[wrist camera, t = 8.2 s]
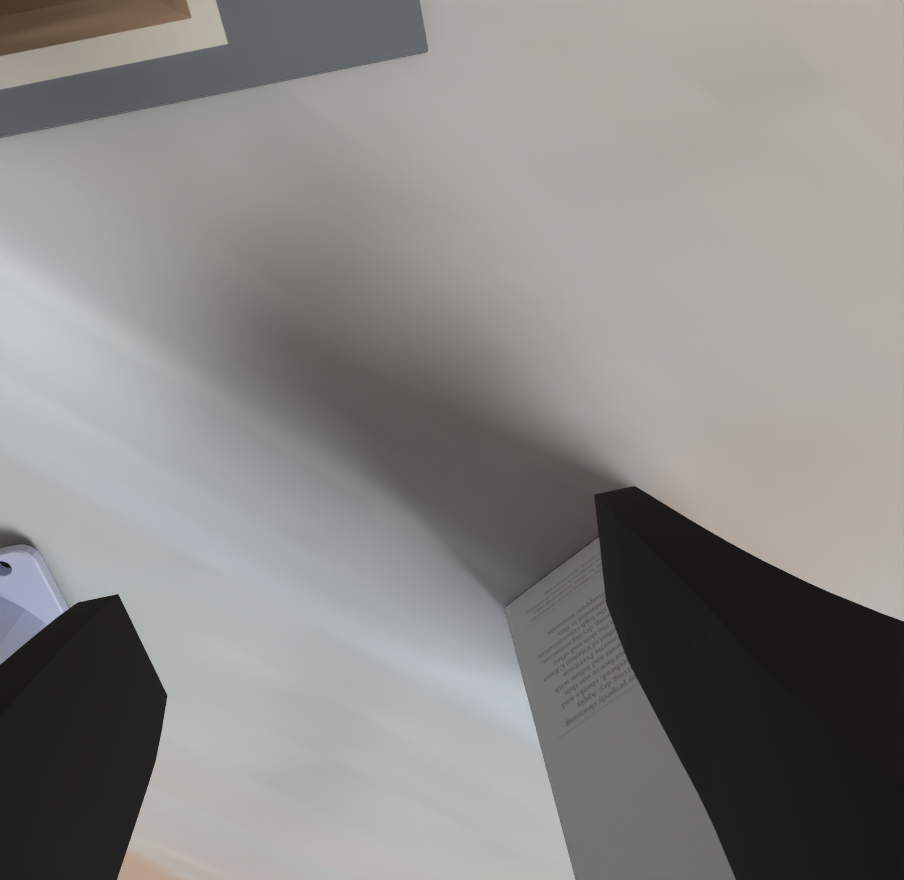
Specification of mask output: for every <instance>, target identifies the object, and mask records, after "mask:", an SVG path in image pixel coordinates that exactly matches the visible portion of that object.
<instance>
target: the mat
mask: <svg viewBox="0 0 904 880" xmlns="http://www.w3.org/2000/svg"><path fill="white" fill-rule="evenodd" d="M187 4H188V7H189V10H190V14H191V17H192V18H190V19H185V20H180V21H175V22H170V23H165V24H160V25H155V26H150V27H145V28H140V29H135V30H130V31H125V32H120V33H115V34H110V35H104V36H99V37H94V38H89V39H84V40H79V41H74V42H69V43H64V44H59V45H54V46H49V47H44V48H39V49H34V50H29V51H24V52H19V53H14V54H9V55H4V56H0V138H2V137H7V136H12V135H17V134H22V133H27V132H32V131H37V130H42V129H47V128H52V127H57V126H62V125H67V124H72V123H77V122H82V121H87V120H92V119H97V118H102V117H107V116H112V115H117V114H122V113H127V112H132V111H137V110H142V109H147V108H152V107H157V106H162V105H167V104H172V103H177V102H182V101H187V100H192V99H197V98H202V97H207V96H212V95H217V94H222V93H227V92H232V91H237V90H242V89H246V88H251V87H256V86H261V85H266V84H271V83H276V82H281V81H286V80H291V79H296V78H301V77H306V76H311V75H316V74H321V73H326V72H331V71H336V70H341V69H346V68H351V67H356V66H361V65H366V64H371V63H376V62H381V61H386V60H391V59H396V58H401V57H406V56H411V55H416V54H421V53H426V52H427V51H428V47H427V41H426V36H425V30H424V24H423V18H422V12H421V6H420V1H419V0H187Z"/></svg>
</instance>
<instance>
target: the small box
mask: <svg viewBox="0 0 904 880" xmlns="http://www.w3.org/2000/svg"><path fill="white" fill-rule="evenodd" d="M505 615H506V618H507V622H508V625H509V629H510V632H511V636H512V640H513V644H514V647H515V651H516V655H517V659H518V662H519V666H520V670H521V674H522V678H523V681H524V685H525V689H526V693H527V697H528V700H529V704H530V708H531V712H532V716H533V719H534V723H535V727H536V731H537V735H538V739H539V742H540V746H541V750H542V754H543V758H544V762H545V765H546V769H547V773H548V777H549V781H550V785H551V788H552V792H553V796H554V800H555V804H556V807H557V811H558V815H559V819H560V823H561V826H562V830H563V834H564V838H565V842H566V845H567V849H568V853H569V857H570V861H571V864H572V868H573V872H574V875H575V879H576V880H736V879H735V877H734V874H733V872H732V869H731V867H730V865H729V862H728V860H727V857H726V855H725V853H724V850H723V848H722V845H721V843H720V841H719V838H718V836H717V833H716V831H715V829H714V826H713V824H712V822H711V820H710V818H709V816H708V814H707V812H706V810H705V807H704V805H703V803H702V801H701V799H700V797H699V795H698V793H697V791H696V789H695V787H694V785H693V784H692V782H691V780H690V778H689V776H688V774H687V772H686V770H685V768H684V767H683V765H682V763H681V761H680V759H679V757H678V755H677V753H676V752H675V750H674V748H673V746H672V744H671V742H670V740H669V738H668V736H667V735H666V733H665V731H664V729H663V727H662V725H661V723H660V721H659V719H658V718H657V716H656V714H655V712H654V710H653V708H652V706H651V704H650V702H649V701H648V699H647V697H646V695H645V693H644V691H643V689H642V687H641V685H640V683H639V681H638V680H637V678H636V676H635V674H634V672H633V670H632V668H631V666H630V664H629V662H628V660H627V657H626V655H625V652H624V650H623V647H622V644H621V642H620V639H619V637H618V634H617V631H616V629H615V626H614V623H613V621H612V618H611V615H610V612H609V610H608V607H607V604H606V598H605V589H604V579H603V570H602V561H601V551H600V542H599V537H598V538H596V539H595V540H594V541H593V542H591V543H590V544H589V545H587V546H586V547H585V548H583V549H582V550H581V551H579V552H578V553H577V554H575V555H574V556H573V557H571V558H570V559H569V560H567V561H566V562H564V563H563V564H562V565H560V566H559V567H558V568H556V569H555V570H553V571H552V572H551V573H549V574H548V575H547V576H546V577H544V578H543V579H542V580H540V581H539V582H538V583H536V584H535V585H534V586H532V587H531V588H530V589H528V590H527V591H526V592H525V593H523V594H522V595H521V596H519V597H518V598H517V599H515V600H514V601H513V602H512V603H510V604H509V605H508V606H507V607H506V609H505Z"/></svg>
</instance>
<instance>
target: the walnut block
mask: <svg viewBox="0 0 904 880" xmlns="http://www.w3.org/2000/svg"><path fill="white" fill-rule="evenodd" d="M190 18H192V17H191V14H190V10H189V7H188V4H187V0H0V56H4V55H9V54H14V53H19V52H24V51H29V50H34V49H39V48H44V47H49V46H54V45H59V44H64V43H69V42H74V41H79V40H84V39H89V38H94V37H99V36H104V35H110V34H115V33H120V32H125V31H130V30H135V29H140V28H145V27H150V26H155V25H160V24H165V23H170V22H175V21H180V20H185V19H190Z"/></svg>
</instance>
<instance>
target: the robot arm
mask: <svg viewBox="0 0 904 880" xmlns="http://www.w3.org/2000/svg"><path fill="white" fill-rule="evenodd" d="M594 496H595V505H596V514H597V523H598V533H599V542H600V551H601V561H602V570H603V579H604V589H605V598H606V604H607V607H608V610H609V612H610V615H611V618H612V621H613V623H614V626H615V629H616V631H617V634H618V637H619V639H620V642H621V644H622V647H623V650H624V652H625V655H626V657H627V660H628V662H629V664H630V666H631V668H632V670H633V672H634V674H635V676H636V678H637V680H638V681H639V683H640V685H641V687H642V689H643V691H644V693H645V695H646V697H647V699H648V701H649V702H650V704H651V706H652V708H653V710H654V712H655V714H656V716H657V718H658V719H659V721H660V723H661V725H662V727H663V729H664V731H665V733H666V735H667V736H668V738H669V740H670V742H671V744H672V746H673V748H674V750H675V752H676V753H677V755H678V757H679V759H680V761H681V763H682V765H683V767H684V768H685V770H686V772H687V774H688V776H689V778H690V780H691V782H692V784H693V785H694V787H695V789H696V791H697V793H698V795H699V797H700V799H701V801H702V803H703V805H704V807H705V810H706V812H707V814H708V816H709V818H710V820H711V822H712V824H713V826H714V829H715V831H716V833H717V836H718V838H719V841H720V843H721V845H722V848H723V850H724V853H725V855H726V857H727V860H728V862H729V865H730V867H731V869H732V872H733V874H734V877H735V879H736V880H904V622H903V621H901V620H898V619H895V618H892V617H889V616H887V615H884V614H881V613H879V612H877V611H874V610H872V609H869V608H867V607H864V606H862V605H859V604H857V603H854V602H852V601H849V600H847V599H844V598H842V597H840V596H837V595H835V594H832V593H830V592H827V591H825V590H823V589H821V588H818V587H816V586H814V585H812V584H810V583H807V582H805V581H803V580H801V579H799V578H797V577H795V576H793V575H791V574H789V573H787V572H785V571H783V570H781V569H779V568H777V567H775V566H773V565H770V564H768V563H766V562H764V561H762V560H760V559H759V558H757V557H755V556H753V555H751V554H749V553H747V552H745V551H744V550H742V549H740V548H738V547H736V546H734V545H733V544H731V543H729V542H727V541H725V540H724V539H722V538H720V537H718V536H717V535H715V534H713V533H711V532H710V531H708V530H706V529H705V528H703V527H701V526H699V525H698V524H696V523H694V522H693V521H691V520H689V519H688V518H686V517H685V516H683V515H681V514H680V513H678V512H676V511H675V510H673V509H671V508H670V507H668V506H667V505H665V504H663V503H662V502H660V501H658V500H657V499H655V498H654V497H652V496H650V495H649V494H647V493H645V492H644V491H642V490H640V489H638V488H637V487H635V486H633V487H628V488H624V489H619V490H614V491H609V492H605V493H600V494H595V495H594ZM0 561H4V562H6V563H8V564H9V565H10V566H11V568H6V567H4V566H2V565H1V564H0V880H117V878H118V874H119V872H120V868H121V866H122V863H123V860H124V857H125V854H126V851H127V848H128V845H129V842H130V839H131V836H132V833H133V830H134V827H135V824H136V821H137V818H138V815H139V811H140V808H141V805H142V802H143V799H144V796H145V793H146V790H147V787H148V784H149V780H150V777H151V774H152V771H153V768H154V764H155V761H156V756H157V751H158V746H159V741H160V736H161V731H162V725H163V719H164V713H165V707H166V701H167V694H166V692H165V690H164V688H163V686H162V684H161V682H160V680H159V677H158V675H157V673H156V671H155V669H154V667H153V665H152V663H151V661H150V659H149V657H148V655H147V653H146V651H145V649H144V646H143V644H142V642H141V640H140V638H139V636H138V634H137V632H136V630H135V628H134V626H133V624H132V622H131V620H130V618H129V615H128V613H127V611H126V609H125V607H124V605H123V603H122V601H121V599H120V597H119V595H118V594H117V595H112V596H107V597H102V598H98V599H93V600H88V601H83V602H78V603H77V604H75V605H74V606H72V607H71V608H68V606H67V604H66V602H65V600H64V598H63V596H62V594H61V592H60V591H59V589H58V587H57V585H56V583H55V581H54V579H53V577H52V575H51V573H50V572H49V570H48V568H47V566H46V564H45V562H44V560H43V558H42V556H41V555H40V553H39V552H38V551H37V550H36V549H34V548H33V547H31V546H28V545H24V544H22V545H13V546H8V547H3V548H0Z"/></svg>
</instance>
